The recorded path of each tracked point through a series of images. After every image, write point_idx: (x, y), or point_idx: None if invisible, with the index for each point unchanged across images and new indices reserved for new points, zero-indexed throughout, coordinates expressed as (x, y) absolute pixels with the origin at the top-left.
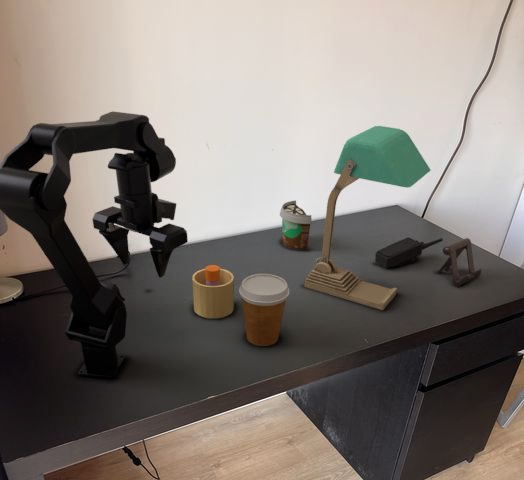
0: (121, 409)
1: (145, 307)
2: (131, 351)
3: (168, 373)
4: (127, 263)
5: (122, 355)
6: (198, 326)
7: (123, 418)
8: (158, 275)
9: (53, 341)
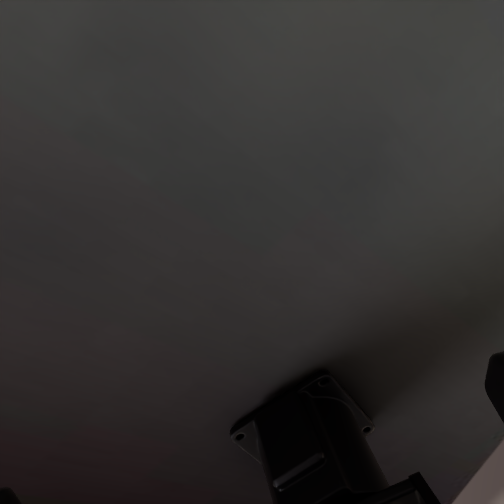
0: (464, 440)
1: (19, 97)
2: (307, 335)
3: (487, 305)
4: (15, 498)
5: (318, 377)
6: (410, 8)
7: (486, 445)
8: (502, 413)
9: (56, 487)
